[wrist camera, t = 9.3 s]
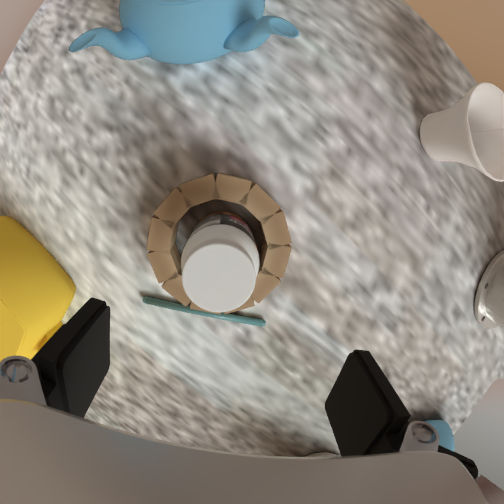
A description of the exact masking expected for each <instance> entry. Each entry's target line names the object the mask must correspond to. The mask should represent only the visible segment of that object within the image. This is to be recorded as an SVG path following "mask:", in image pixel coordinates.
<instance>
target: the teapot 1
mask: <svg viewBox="0 0 504 504" xmlns="http://www.w3.org/2000/svg"><path fill="white" fill-rule="evenodd" d="M75 291H76V286H75V284H74V282H73V281H72V279H71V278H70V277H69V275H68V274H67V273H66V272H65V270H64V269H63V268H62V267H61V266H60V265H59V264H58V262H57V261H56V260H55V259H54V258H53V257H52V255H51V254H50V253H49V252H48V251H47V250H46V249H45V248H44V247H43V245H42V244H41V243H40V242H39V241H38V240H37V239H36V238H34V237H33V236H32V235H31V234H30V233H29V232H28V231H27V230H26V229H25V228H24V227H23V226H22V225H21V224H19V223H18V222H17V221H16V220H14V219H13V218H11V217H8V216H0V361H2V360H3V359H4V358H7V357H9V356H14V355H15V356H23V357H27V358H28V359H30V360H31V359H32V358H33V357H34V356H35V354H36V353H37V352H38V351H39V350H40V349H41V348H42V347H43V345H44V344H45V343H46V342H47V341H48V340H49V339H50V338H51V337H52V336H53V334H54V333H55V332H56V331H57V330H58V329H59V328H60V327H61V326H62V325H63V323H62V322H61V320H62V318H63V317H64V315H65V313H66V311H67V309H68V307H69V305H70V303H71V301H72V299H73V297H74V294H75Z"/></svg>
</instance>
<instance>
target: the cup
mask: <svg viewBox="0 0 504 504" xmlns="http://www.w3.org/2000/svg"><path fill="white" fill-rule="evenodd" d="M420 140H421V144H422V146H423V148H424V150H425V151H426V153H427V154H428V156H429V157H431V158H432V159H433V160H435V161H441V162H446V161H450V162H459V163H463V164H466V165H468V166H471V167H474V168H476V169H478V170H479V171H481V172H482V173H483V174H485V175H486V176H488V177H490V178H491V179H493V180H495V181H500V182H503V181H504V93H503V92H502V91H501V90H500V89H499V88H498V87H497V86H495V85H493V84H491V83H487V82H482V83H477V84H476V85H474V86H473V87H472V88H471V89H470V90H469V91H468V92H467V94H466V95H465V96H464V98H463V99H462V100H460V101H458V102H457V103H456V104H454V105H453V106H452V107H450V108H448V109H445V110H442V111H439V112H435V113H430V114H428V115H427V116H426V117H424V118H423V120H422V123H421V125H420Z"/></svg>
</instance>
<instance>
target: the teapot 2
mask: <svg viewBox="0 0 504 504" xmlns="http://www.w3.org/2000/svg"><path fill="white" fill-rule="evenodd" d="M264 8H265V0H120V7H119V12H120V21H121V25H122V28H123V30H122V31H120V32H117V33H114V32H113V31H111V30H110V29H108V28H103V27H101V28H95V29H92V30H89V31H87V32H85V33H84V34H82V35H81V36H79V37H78V38H77V39H76V40H75V41H74V42H73V43H72V44H71V45H70V47H69V51H71V52H76V51H79V50H82V49H84V48H87V47H90V46H95V45H97V46H101V47H103V48H105V49H106V50H107V51H109V52H110V53H111V54H113V55H114V56H116V57H118V58H120V59H124V60H134V59H140V58H143V57H146V56H148V57H150V58H152V59H154V60H157V61H161V62H166V63H172V64H192V63H200V62H204V61H209V60H212V59H215V58H218V57H220V56H222V55H225V54H227V53H228V52H230V51H237V52H247V51H251V50H254V49H256V48H258V47H259V46H261V45H262V44H263V43H264V42H265V41H266V40H267V39H268V38H269V36H270V34H277V35H281V36H285V37H290V38H294V37H297V36H298V35H299V31H298V29H297V28H296V27H295V26H294V25H293V24H291V23H290V22H288V21H287V20H285V19H282V18H280V17H276V16H264V17H263V13H264Z"/></svg>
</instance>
